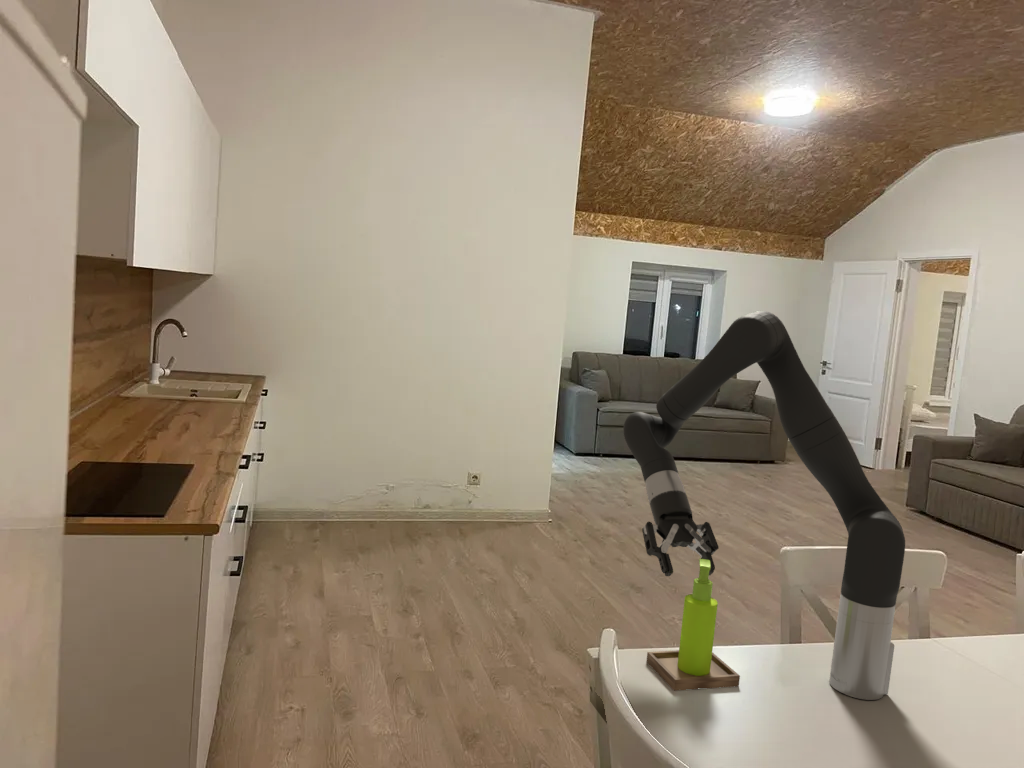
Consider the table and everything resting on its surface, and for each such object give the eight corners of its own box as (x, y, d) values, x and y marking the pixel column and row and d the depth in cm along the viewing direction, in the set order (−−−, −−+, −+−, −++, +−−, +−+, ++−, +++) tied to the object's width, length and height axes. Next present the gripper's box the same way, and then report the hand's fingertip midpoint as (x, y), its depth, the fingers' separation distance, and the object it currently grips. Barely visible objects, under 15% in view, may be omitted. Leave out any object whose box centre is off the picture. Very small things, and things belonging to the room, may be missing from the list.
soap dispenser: (709, 661, 148) (720, 559, 146) (710, 678, 141) (722, 570, 139) (677, 656, 149) (688, 554, 147) (677, 672, 143) (689, 565, 141)
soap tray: (707, 658, 152) (708, 648, 152) (738, 686, 142) (739, 675, 142) (646, 662, 149) (647, 651, 148) (674, 690, 138) (675, 679, 138)
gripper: (642, 488, 152) (664, 566, 142) (707, 489, 156) (732, 564, 147) (628, 507, 158) (648, 583, 148) (691, 508, 162) (714, 582, 152)
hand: (690, 574), depth 147 cm, fingers open, 8 cm apart
